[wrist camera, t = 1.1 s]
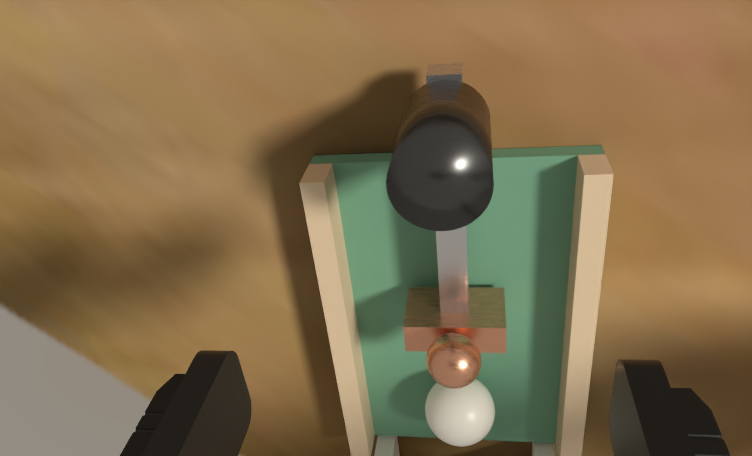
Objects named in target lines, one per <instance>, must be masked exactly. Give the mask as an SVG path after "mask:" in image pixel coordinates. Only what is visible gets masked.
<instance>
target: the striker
mask: <svg viewBox="0 0 752 456" xmlns="http://www.w3.org/2000/svg"><path fill="white" fill-rule="evenodd" d="M426 81H427V84H426V85H424V86H422V87H421V88H419V89H418V90H417V91H416V92H415V93H414V94H413V95H412V96H411V97H410V99H409V100H408V102H407V104H406V106H405V109H404V113H403V117H402V120H401V124H400V128H399V132H398V135H397V139H396V143H395V146H394V150H393V154H392V158H391V161H390V165H389V169H388V173H387V178H386V188H387V194H388V197H389V200H390V202H391V204H392V205H393V207H394V208H395V210H396V211H397V212H398V213H399V214H400V215H401V216H402V217H403V218H404V219H405V220H407V221H408V222H410V223H411V224H413V225H415V226H417V227H420V228H423V229H427V230H432V231H436V245H437V261H438V278H439V287H409V290H408V297H407V303H406V310H405V317H404V323H403V333H404V342H405V351H423V352H427V356H426V364H427V368H428V371H429V373H430V375H431V377H432V378H433V379H434V380H435V381H436V382H437V383H438V384H440V385H442V386H444V387H446V388H451V389H459V388H463V387H465V386H468V385H469V384H471V383H472V382H473V381H474V380H475V379H476V377H477V376H478V374H479V372H480V369H481V362H482V360H481V354H480V353H506V335H507V327H506V312H505V296H504V288H482V287H469V277H468V243H467V225H468V224H470V223H472V222H473V221H475V220H476V219H477V218H478V217H479V216H480V215H481V214H482V213H483V212H484V211H485V210H486V208H487V207H488V205H489V203H490V201H491V198H492V194H493V188H494V180H493V161H492V143H491V124H490V113H489V109H488V106H487V104H486V102H485V100H484V99H483V97H482V96H481V95H480V94H479V93H478V92H477V91H476V90H475V89H474V88H473V87H471V86H469V85H468V84H465V83H463V69H462V63H453V64H436V65H428V70H427V74H426Z"/></svg>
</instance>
